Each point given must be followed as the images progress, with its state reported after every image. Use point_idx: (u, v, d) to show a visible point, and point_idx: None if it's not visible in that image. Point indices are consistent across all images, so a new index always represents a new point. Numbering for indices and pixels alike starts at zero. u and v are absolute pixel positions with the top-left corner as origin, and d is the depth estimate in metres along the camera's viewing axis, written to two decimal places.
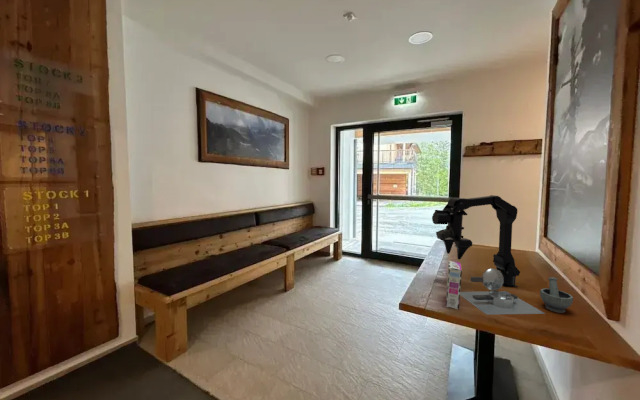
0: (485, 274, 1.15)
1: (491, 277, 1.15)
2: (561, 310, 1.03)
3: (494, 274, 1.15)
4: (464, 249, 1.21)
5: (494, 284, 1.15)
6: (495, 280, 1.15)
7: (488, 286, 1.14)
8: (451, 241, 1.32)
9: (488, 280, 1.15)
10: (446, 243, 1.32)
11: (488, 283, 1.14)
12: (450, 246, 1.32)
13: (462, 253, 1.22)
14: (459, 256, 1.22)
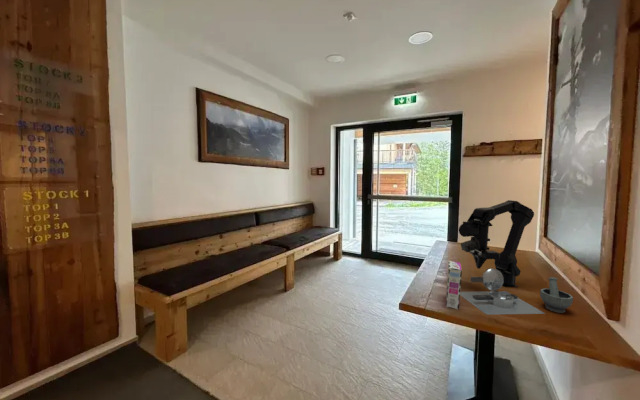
0: (485, 274, 1.15)
1: (491, 277, 1.15)
2: (561, 310, 1.03)
3: (494, 274, 1.15)
4: (484, 258, 1.23)
5: (494, 284, 1.15)
6: (495, 280, 1.15)
7: (488, 286, 1.14)
8: None
9: (488, 280, 1.15)
10: (476, 257, 1.25)
11: (488, 283, 1.14)
12: None
13: (482, 262, 1.23)
14: (479, 265, 1.24)
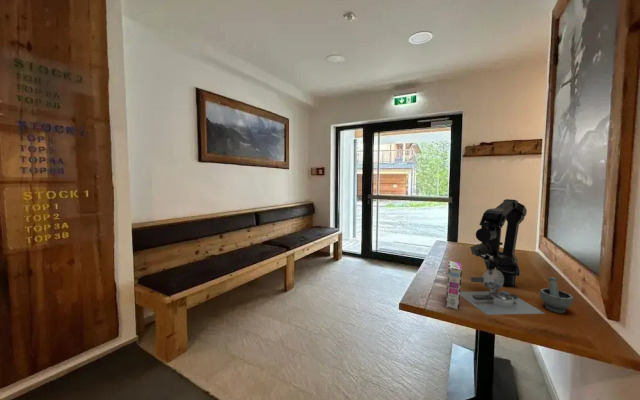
0: (485, 274, 1.14)
1: (491, 277, 1.15)
2: (561, 310, 1.03)
3: (494, 274, 1.15)
4: (495, 263, 1.15)
5: (494, 284, 1.14)
6: (495, 280, 1.15)
7: (488, 286, 1.14)
8: None
9: (489, 280, 1.14)
10: (487, 262, 1.17)
11: (488, 283, 1.14)
12: None
13: (493, 267, 1.16)
14: None
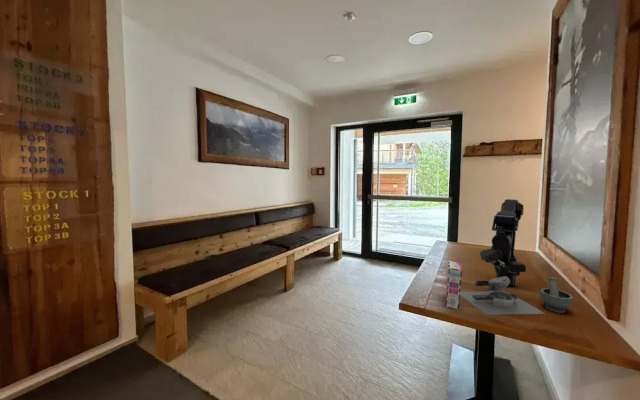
0: (492, 281, 1.10)
1: (497, 283, 1.11)
2: (561, 310, 1.03)
3: (502, 281, 1.11)
4: (506, 269, 1.09)
5: (497, 287, 1.13)
6: (500, 284, 1.12)
7: (490, 288, 1.13)
8: None
9: (493, 284, 1.12)
10: (497, 268, 1.11)
11: (491, 286, 1.13)
12: None
13: (504, 273, 1.10)
14: None
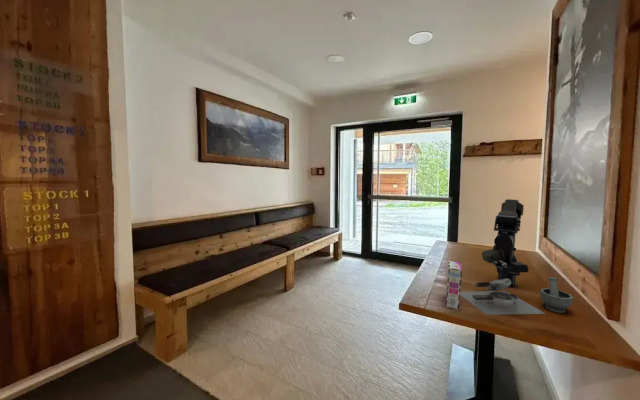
0: (493, 283, 1.10)
1: (498, 284, 1.11)
2: (561, 310, 1.03)
3: (503, 283, 1.10)
4: (508, 270, 1.08)
5: (497, 288, 1.13)
6: (500, 286, 1.12)
7: (490, 289, 1.13)
8: None
9: (493, 286, 1.11)
10: (499, 268, 1.10)
11: (492, 287, 1.12)
12: None
13: (506, 274, 1.09)
14: (502, 277, 1.09)
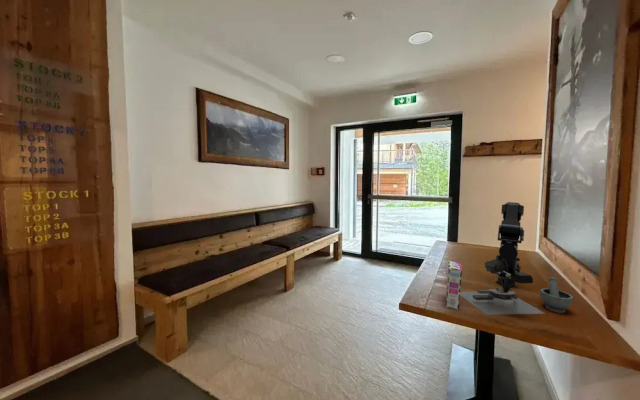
0: (496, 293, 1.08)
1: None
2: (561, 310, 1.03)
3: None
4: (513, 281, 1.06)
5: None
6: None
7: None
8: None
9: None
10: (503, 279, 1.08)
11: None
12: None
13: (510, 285, 1.07)
14: (506, 289, 1.07)
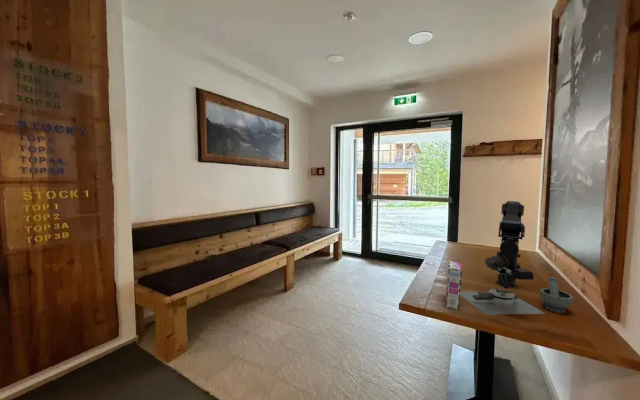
0: None
1: None
2: (561, 310, 1.03)
3: None
4: (513, 277, 1.05)
5: None
6: None
7: None
8: None
9: None
10: (503, 275, 1.08)
11: None
12: None
13: (511, 282, 1.06)
14: (507, 285, 1.07)
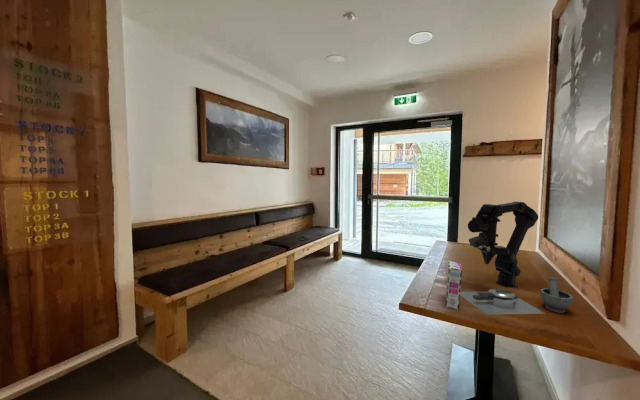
0: None
1: None
2: (561, 310, 1.03)
3: None
4: (492, 254, 1.23)
5: None
6: None
7: None
8: None
9: None
10: (484, 253, 1.25)
11: None
12: None
13: (490, 258, 1.24)
14: (487, 261, 1.24)
